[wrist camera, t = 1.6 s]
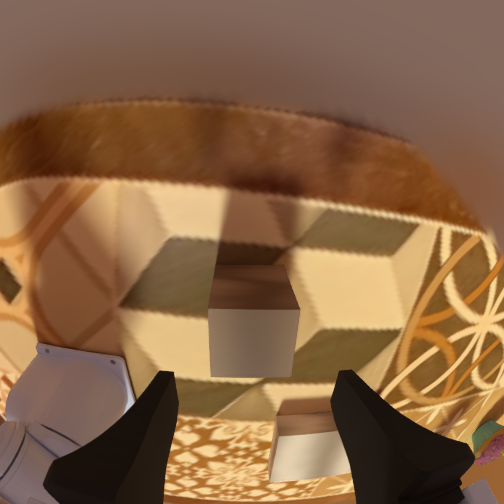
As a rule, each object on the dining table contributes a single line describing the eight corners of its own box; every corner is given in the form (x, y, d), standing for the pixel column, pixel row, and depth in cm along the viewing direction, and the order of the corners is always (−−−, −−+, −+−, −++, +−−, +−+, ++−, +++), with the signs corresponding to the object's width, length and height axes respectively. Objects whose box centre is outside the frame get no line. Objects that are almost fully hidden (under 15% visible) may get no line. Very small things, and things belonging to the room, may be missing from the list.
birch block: (267, 462, 29) (269, 482, 26) (275, 412, 26) (279, 436, 23) (347, 453, 29) (353, 472, 27) (371, 403, 26) (381, 423, 23)
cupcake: (471, 425, 31) (504, 476, 20) (506, 403, 31) (539, 447, 19) (457, 451, 34) (483, 497, 22) (491, 431, 33) (518, 472, 22)
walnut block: (216, 321, 21) (210, 376, 16) (215, 263, 20) (207, 308, 14) (278, 322, 22) (290, 376, 16) (283, 265, 20) (300, 309, 15)
